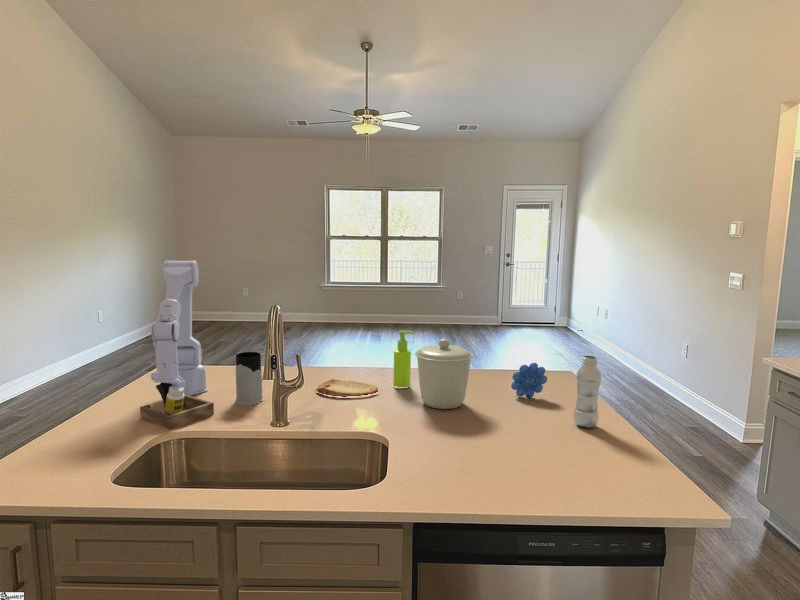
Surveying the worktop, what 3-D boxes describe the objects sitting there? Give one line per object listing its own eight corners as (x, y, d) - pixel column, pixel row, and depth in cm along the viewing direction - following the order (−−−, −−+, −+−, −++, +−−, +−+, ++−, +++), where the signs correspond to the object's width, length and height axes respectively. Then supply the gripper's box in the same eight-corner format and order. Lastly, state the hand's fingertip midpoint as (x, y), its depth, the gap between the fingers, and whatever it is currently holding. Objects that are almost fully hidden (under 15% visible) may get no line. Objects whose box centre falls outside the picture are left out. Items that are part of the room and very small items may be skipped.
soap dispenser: (413, 389, 171) (414, 332, 168) (393, 389, 171) (394, 332, 168) (413, 384, 177) (413, 329, 174) (393, 384, 177) (394, 329, 174)
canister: (443, 418, 144) (445, 348, 141) (402, 402, 157) (403, 337, 154) (483, 405, 156) (485, 340, 153) (441, 391, 169) (443, 331, 166)
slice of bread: (383, 395, 166) (384, 384, 165) (338, 405, 155) (338, 394, 154) (354, 382, 180) (354, 372, 179) (310, 391, 168) (310, 380, 168)
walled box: (185, 405, 152) (184, 394, 152) (213, 414, 145) (213, 402, 144) (140, 418, 141) (140, 406, 140) (169, 429, 133) (168, 417, 133)
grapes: (543, 394, 167) (545, 359, 166) (547, 400, 161) (549, 365, 159) (509, 392, 169) (510, 358, 167) (511, 399, 162) (513, 363, 160)
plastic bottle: (579, 419, 144) (583, 353, 142) (602, 426, 139) (606, 357, 137) (568, 425, 140) (572, 356, 137) (592, 432, 135) (596, 361, 132)
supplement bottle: (173, 419, 141) (176, 394, 138) (160, 413, 142) (163, 388, 139) (185, 413, 145) (189, 388, 143) (173, 407, 146) (176, 382, 144)
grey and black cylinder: (229, 402, 155) (227, 356, 153) (257, 390, 168) (256, 347, 166) (252, 406, 152) (250, 359, 150) (279, 393, 165) (278, 349, 163)
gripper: (139, 361, 144) (142, 406, 145) (168, 369, 136) (170, 416, 137) (162, 356, 149) (164, 399, 151) (191, 363, 142) (193, 409, 143)
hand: (169, 407), depth 145 cm, fingers closed, pressing on supplement bottle
